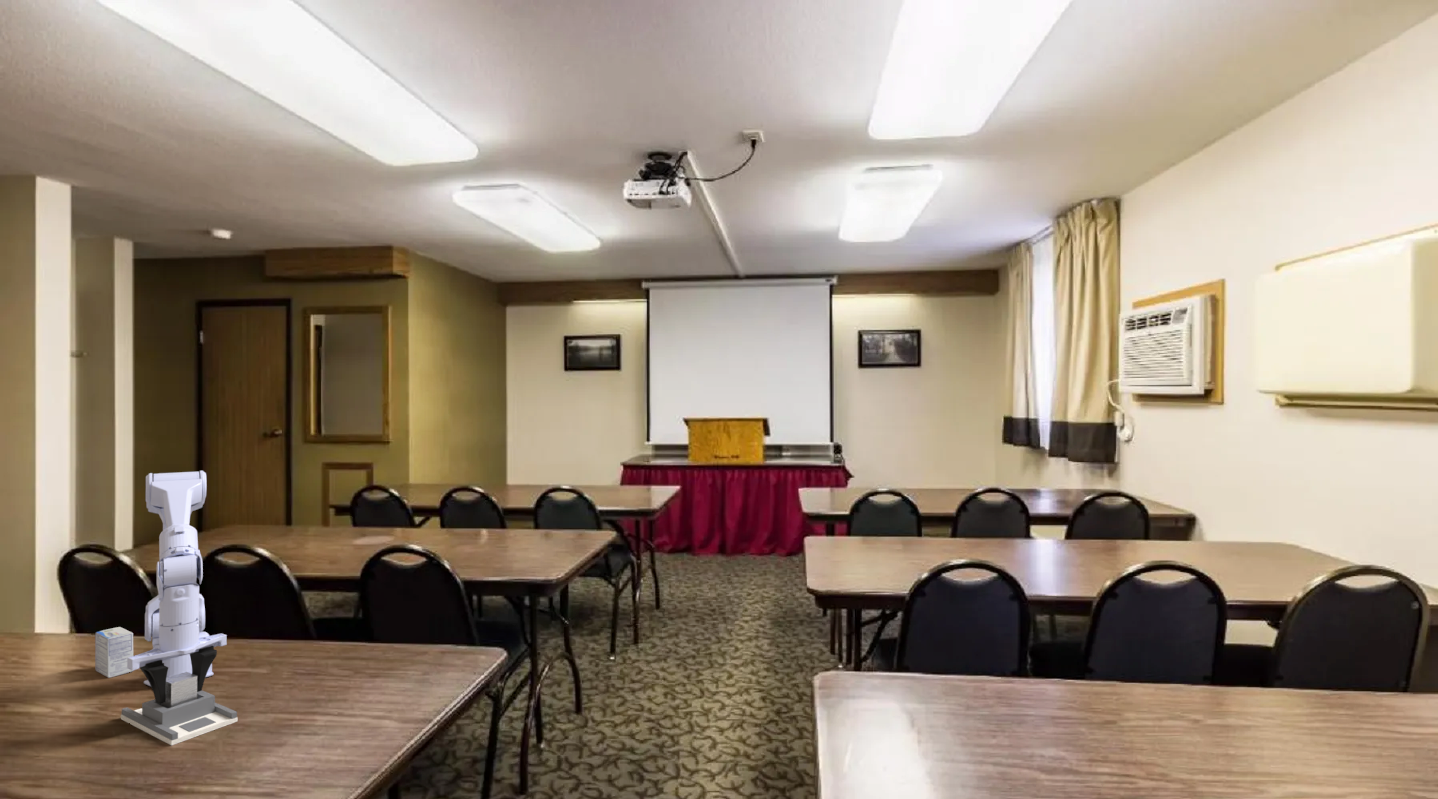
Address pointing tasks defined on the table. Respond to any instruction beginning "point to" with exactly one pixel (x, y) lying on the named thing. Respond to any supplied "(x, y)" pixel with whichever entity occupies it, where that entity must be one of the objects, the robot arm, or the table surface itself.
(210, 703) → the frame
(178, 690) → the steel square block
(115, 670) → the medicine box
